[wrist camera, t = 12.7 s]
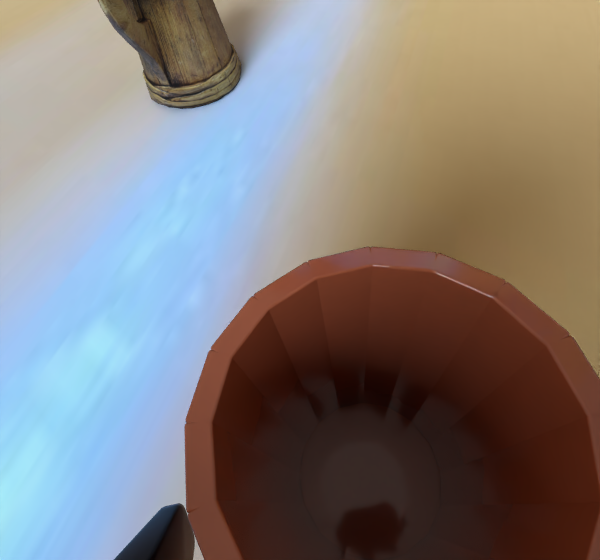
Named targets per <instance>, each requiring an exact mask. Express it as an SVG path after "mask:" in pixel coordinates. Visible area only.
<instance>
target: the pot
mask: <svg viewBox="0 0 600 560" xmlns="http://www.w3.org/2000/svg"><path fill="white" fill-rule="evenodd" d="M185 472H186V510H187V513H189V514H188V520H189V522H190V525H191V527H192V530H193V532H194V535H195V537H196V540H197V542H198V545H199V547H200V550H201V552H202V555H203V557H204V560H600V379H599V377H598V376H597V374H596V373H595V371H594V369H593V368H592V366H591V365H590V363H589V361H588V360H587V358H586V357H585V355H584V354H583V352H582V350H581V349H580V347H579V346H578V344H577V343H576V341H575V339H574V338H573V337H572V336H569V332H568V331H567V330H565V329H564V328H563V327H562V326H561V325H559V324H558V323H557V322H556V321H555V320H553V319H552V318H551V317H550V316H548V315H547V314H546V313H545V312H544V311H542V310H541V309H540V308H539V307H538V306H536V305H535V304H534V303H533V302H532V301H530V300H529V299H528V298H527V297H526V296H524V295H523V294H522V293H521V292H520V291H518V290H517V289H516V288H515V287H514V286H512V285H511V284H510V283H508V282H506V283H505V280H504V279H502V278H499V277H497V276H494V275H492V274H489V273H487V272H485V271H482V270H480V269H477V268H475V267H473V266H470V265H468V264H465V263H463V262H460V261H458V260H456V259H453V258H451V257H448V256H446V255H443V254H441V253H438V254H437V253H436V252H429V251H417V250H406V249H395V248H383V247H371V248H370V247H364V248H360V249H356V250H351V251H347V252H343V253H338V254H334V255H330V256H325V257H321V258H317V259H312V260H309V261H308V262H305V263H303V264H302V265H300V266H298V267H297V268H295V269H294V270H292V271H290V272H289V273H287V274H286V275H284V276H282V277H281V278H279V279H277V280H276V281H274V282H273V283H271V284H269V285H268V286H266V287H265V288H263V289H261V290H260V291H258V292H257V293H255V294H254V296H252V297H251V298H250V299H249V300H248V301H247V303H246V304H245V305H244V306H243V308H242V309H241V310H240V311H239V313H238V314H237V315H236V316H235V318H234V319H233V320H232V321H231V323H230V324H229V325H228V326H227V328H226V329H225V330H224V331H223V333H222V334H221V335H220V336H219V338H218V339H217V340H216V341H215V343H214V344H213V345H212V347H211V350H210V351H209V352H208V355H207V358H206V361H205V364H204V367H203V370H202V373H201V376H200V379H199V382H198V384H197V387H196V390H195V393H194V396H193V399H192V402H191V405H190V408H189V411H188V414H187V417H186V424H185Z"/></svg>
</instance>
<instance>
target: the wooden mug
mask: <svg viewBox="0 0 600 560" xmlns="http://www.w3.org/2000/svg"><path fill="white" fill-rule="evenodd" d="M98 2H99V4H100V6H101V8H102V10H103V12H104V13H105V15H106V16H107V18H108V19H109V21H110V23H111V24H112V26H113V27H114V29H115V30H116V31H117V32H118V33H119V34H120V35H121V36H122V37H123V38H124V39H125V40H126V41H127V42H128V43H129V44H130V45H131V46H132V47H133V48H134V49H135V50H136V51H138V53H139V56H140V59H141V62H142V65H143V68H144V70H143V76H144V78H145V81H146V84H147V87H148V90H149V93H150V96H151V99H152V100H154V101H155V102H157V103H158V104H162V105H165V106H168V107H176V108H180V109H183V108H193V107H198V106H202V105H206V104H209V103H211V102H214V101H217V100H218V99H220V98H221V97H223V96H224V95H225V94H227V93H228V92H229V91H231V90H232V89H233V88H234V87H235V86H236V84H237V83H238V81H239V79H240V73H241V62H240V60H239V57H238V55H237V53H236V50H235V48H234V46H233V45H232V44H231V43H230V42H229V39H228V37H227V34H226V32H225V29H224V27H223V24H222V22H221V19H220V17H219V14H218V12H217V9H216V7H215V4H214V2H213V0H98Z"/></svg>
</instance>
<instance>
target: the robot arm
mask: <svg viewBox="0 0 600 560" xmlns="http://www.w3.org/2000/svg"><path fill="white" fill-rule="evenodd" d="M194 546H195V540H194V533H193V530H192V527H191V525H190V522H189V520H188V516H187V513H186V510H185V508H184V506H183V505H182V504H180V503H178V504H173V505H169V506H165V507H163V508H161V509H160V510H159V511H158V512H157V513H156V515H155V516H154V517H153V518H152V519H151V520H150V521H149V522H148V523H147V524H146V525H145V527H144V528H143V529H142V530H141V531H140V532H139V533H138V534H137V535H136V536H135V537H134V538H133V540H132V541H131V542H130V543H129V544H128V545H127V546H126V547H125V548H124V549H123V550H122V551H121V553H120V554H119V555H118V556H117V557H116V558H115V559H114V560H193V555H194Z"/></svg>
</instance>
